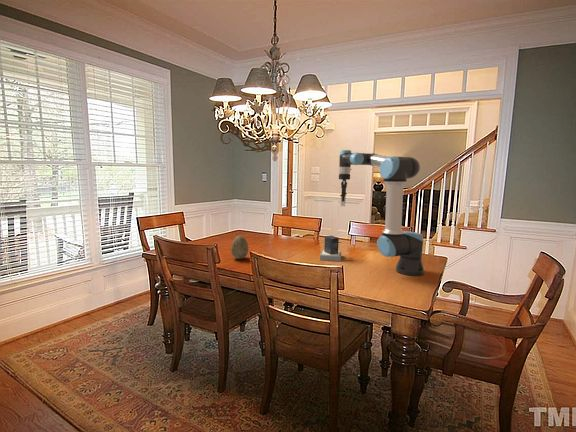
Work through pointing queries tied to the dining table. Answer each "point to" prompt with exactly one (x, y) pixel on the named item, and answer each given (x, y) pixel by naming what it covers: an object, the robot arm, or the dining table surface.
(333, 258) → the plinth
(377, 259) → the dining table surface
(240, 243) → the decorative egg
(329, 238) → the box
